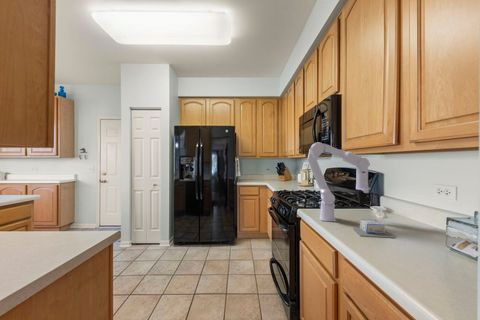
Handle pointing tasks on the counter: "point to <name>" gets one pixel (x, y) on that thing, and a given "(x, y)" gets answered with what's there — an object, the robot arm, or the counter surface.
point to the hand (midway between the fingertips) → (361, 204)
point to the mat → (372, 234)
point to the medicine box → (372, 226)
